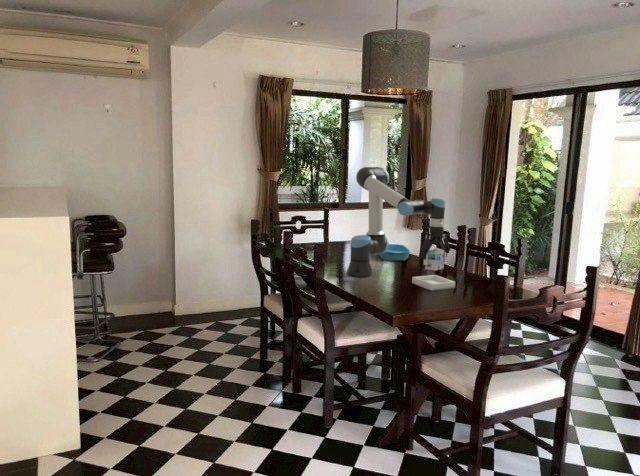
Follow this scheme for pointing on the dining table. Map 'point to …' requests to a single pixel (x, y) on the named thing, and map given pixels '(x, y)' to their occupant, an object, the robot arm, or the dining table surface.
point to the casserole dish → (395, 252)
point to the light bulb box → (435, 259)
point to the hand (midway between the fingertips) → (434, 264)
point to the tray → (433, 282)
